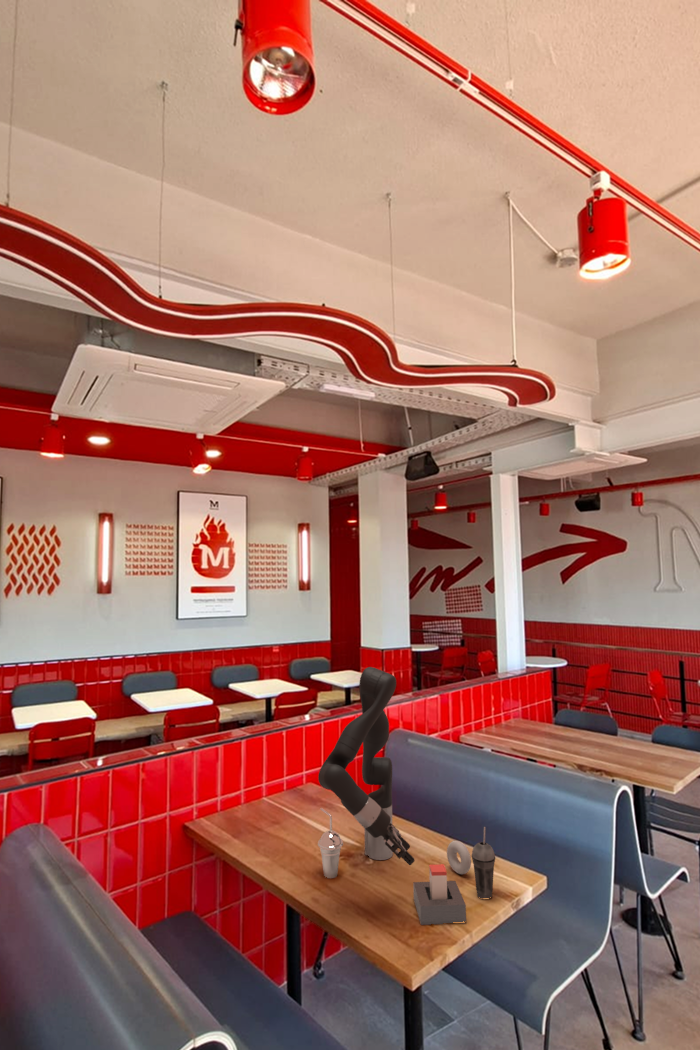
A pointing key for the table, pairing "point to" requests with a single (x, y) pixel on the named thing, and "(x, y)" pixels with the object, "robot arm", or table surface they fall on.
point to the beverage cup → (483, 868)
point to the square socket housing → (439, 904)
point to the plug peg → (438, 882)
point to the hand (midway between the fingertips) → (410, 855)
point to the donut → (453, 859)
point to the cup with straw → (330, 850)
